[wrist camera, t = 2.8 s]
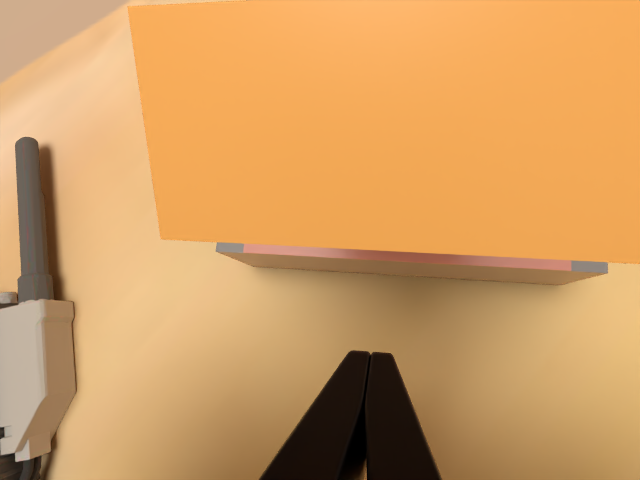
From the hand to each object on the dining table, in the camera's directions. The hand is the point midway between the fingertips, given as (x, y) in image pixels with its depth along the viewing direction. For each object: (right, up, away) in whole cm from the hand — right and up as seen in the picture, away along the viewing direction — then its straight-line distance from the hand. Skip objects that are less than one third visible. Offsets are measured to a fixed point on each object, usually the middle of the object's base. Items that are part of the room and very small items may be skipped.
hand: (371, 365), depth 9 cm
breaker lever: (+2, +7, +5) cm, 9 cm away
